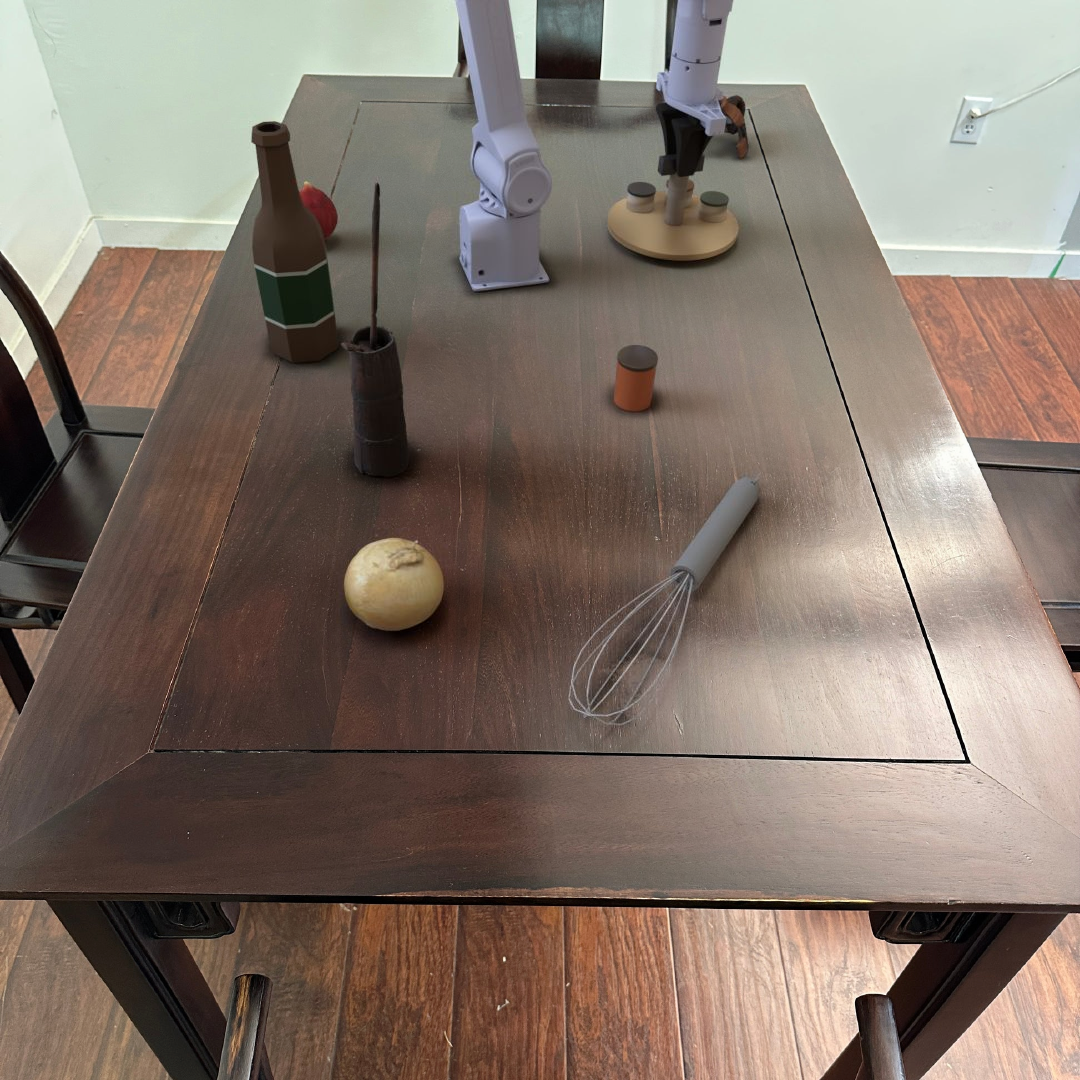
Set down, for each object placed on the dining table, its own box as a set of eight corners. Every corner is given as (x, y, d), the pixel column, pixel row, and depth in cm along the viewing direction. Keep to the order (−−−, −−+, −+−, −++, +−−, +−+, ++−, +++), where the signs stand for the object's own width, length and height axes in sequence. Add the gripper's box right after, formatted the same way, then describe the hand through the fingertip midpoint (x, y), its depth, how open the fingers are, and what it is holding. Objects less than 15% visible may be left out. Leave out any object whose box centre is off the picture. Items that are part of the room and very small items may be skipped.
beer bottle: (326, 369, 104) (293, 149, 86) (258, 359, 104) (211, 138, 87) (350, 330, 109) (323, 114, 92) (285, 320, 110) (246, 105, 93)
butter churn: (338, 510, 89) (292, 228, 69) (315, 446, 95) (266, 170, 75) (434, 487, 91) (416, 208, 71) (405, 426, 97) (382, 154, 77)
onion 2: (378, 660, 77) (369, 602, 72) (331, 598, 81) (320, 539, 76) (462, 616, 80) (460, 558, 75) (413, 558, 85) (408, 500, 80)
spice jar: (620, 414, 100) (625, 370, 96) (607, 391, 103) (612, 347, 99) (657, 408, 101) (664, 365, 97) (643, 385, 103) (649, 342, 100)
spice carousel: (636, 268, 118) (644, 194, 111) (588, 204, 129) (593, 134, 123) (760, 250, 122) (776, 178, 115) (704, 190, 133) (715, 121, 127)
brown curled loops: (739, 171, 141) (718, 120, 136) (685, 180, 148) (664, 133, 143) (771, 122, 146) (752, 72, 141) (718, 134, 153) (698, 86, 148)
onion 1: (345, 233, 124) (338, 173, 118) (334, 256, 120) (326, 194, 114) (301, 230, 124) (291, 169, 119) (288, 252, 120) (278, 191, 115)
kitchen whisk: (783, 496, 92) (798, 445, 87) (621, 761, 71) (629, 713, 67) (724, 473, 94) (735, 422, 89) (550, 724, 74) (553, 675, 69)
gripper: (757, 74, 107) (736, 191, 117) (699, 30, 116) (683, 142, 126) (700, 80, 105) (683, 199, 115) (646, 35, 114) (634, 148, 124)
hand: (680, 169), depth 120 cm, fingers closed on spice carousel, 2 cm apart
